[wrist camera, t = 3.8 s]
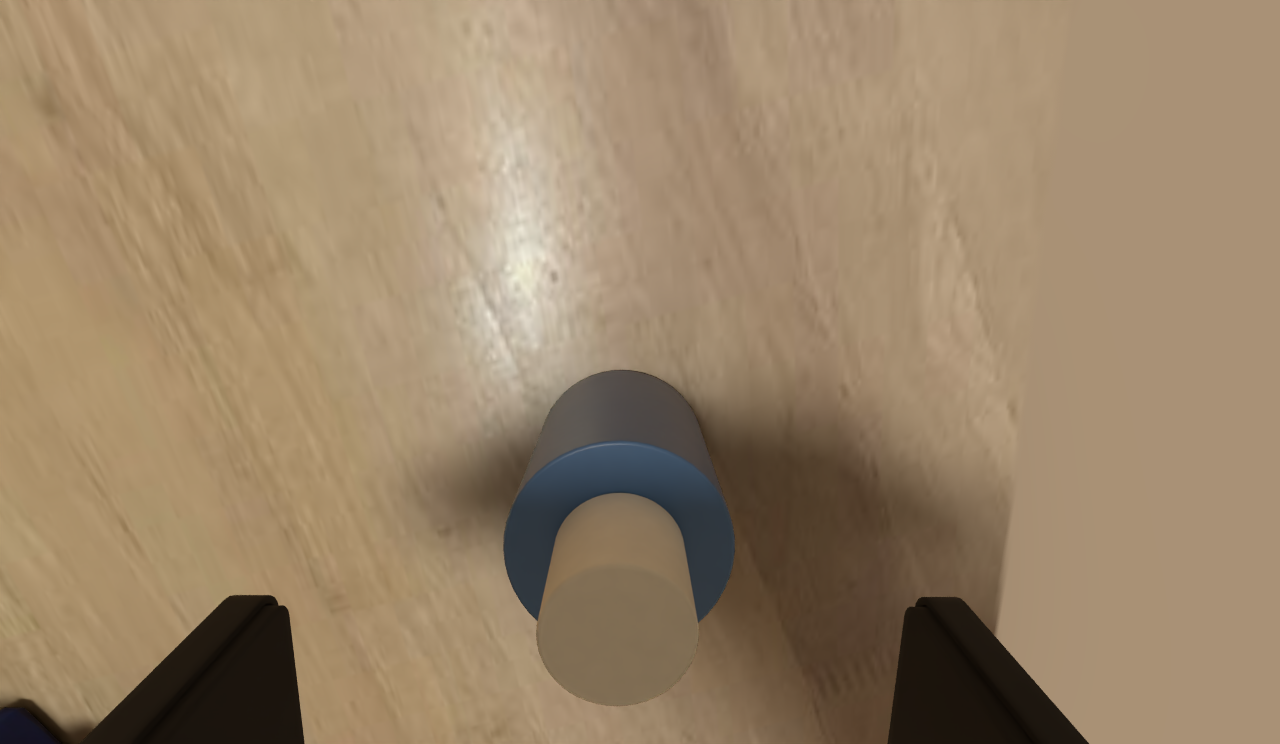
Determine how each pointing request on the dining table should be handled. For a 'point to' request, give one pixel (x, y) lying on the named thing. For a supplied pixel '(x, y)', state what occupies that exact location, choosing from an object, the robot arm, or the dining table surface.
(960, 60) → the dining table surface
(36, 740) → the decorative cube
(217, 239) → the dining table surface
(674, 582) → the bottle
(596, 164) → the dining table surface
